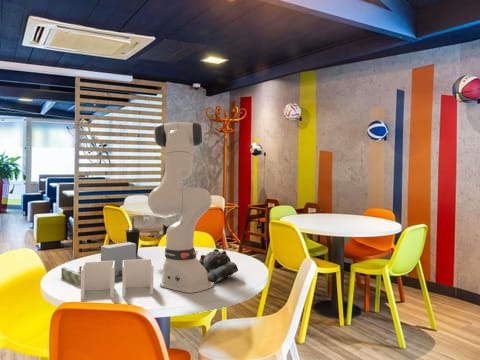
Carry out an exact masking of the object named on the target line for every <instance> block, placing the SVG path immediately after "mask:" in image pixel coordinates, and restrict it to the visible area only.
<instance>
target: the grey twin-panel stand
mask: <svg viewBox="0 0 480 360" xmlns="http://www.w3.org/2000/svg"><path fill="white" fill-rule="evenodd" d="M154 269H155V268H154V263H153V259H152V258H145V259H143V258H141V259H136V260H123V272H122V281H121V282H122V283H121V285H122V287H121V288H122V289H121V290H122V294H121V295H122V296H121V297H123V298H125V297H126V295H127V294H126V291H127V290H126V288H127V289H128V288H129V289H130V288H141V287H142V288H143V287H144V288H145V287H149V295H150V296H152V295H154ZM80 272H81V285H80V301H84V300H85V293H86V291H97V290H98V291H99V290H109V295H110V296H109V297H110V298H111V299H113V298H114V297H115V296H114V294H115V286H116V285H115V283H116V282H115V275H116V274H115V261H101V260H100V261H84V262H83V264H82V268H81V271H80Z"/></svg>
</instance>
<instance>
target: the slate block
mask: <svg viewBox="0 0 480 360" xmlns="http://www.w3.org/2000/svg"><path fill="white" fill-rule="evenodd" d="M123 260H137V256H136V244H135V243H131V242H127V241H125V242H121V243H113V244H107V245H106V244H105V245H101V246H100V261H115V275H119V271H123Z"/></svg>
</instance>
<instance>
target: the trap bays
mask: <svg viewBox="0 0 480 360" xmlns="http://www.w3.org/2000/svg"><path fill="white" fill-rule="evenodd" d="M82 266H83V265H82ZM82 266H79V269H78V270H79V272H81V268H82ZM119 282H122V272H119V273H118V274H115V283H119Z"/></svg>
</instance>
